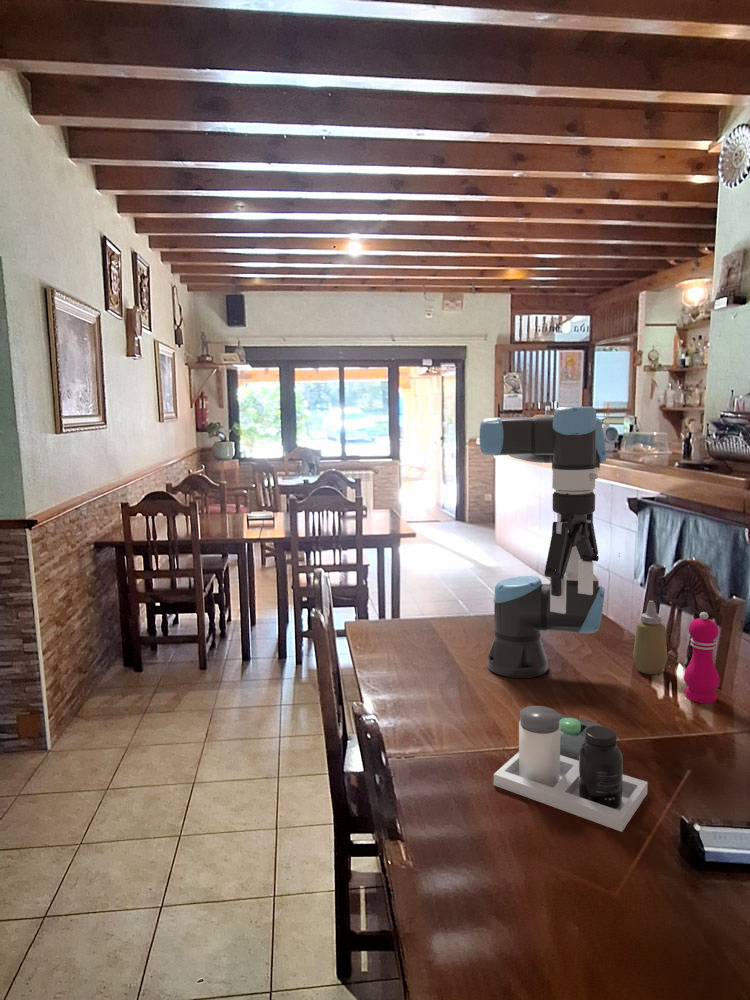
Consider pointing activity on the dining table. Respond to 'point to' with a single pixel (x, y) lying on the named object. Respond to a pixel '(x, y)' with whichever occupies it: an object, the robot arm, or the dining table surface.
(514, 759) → the tray
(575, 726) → the button
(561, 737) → the grey button base
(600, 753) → the supplement bottle
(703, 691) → the pepper mill
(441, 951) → the dining table surface
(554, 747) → the lidded jar
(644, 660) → the squeeze bottle
